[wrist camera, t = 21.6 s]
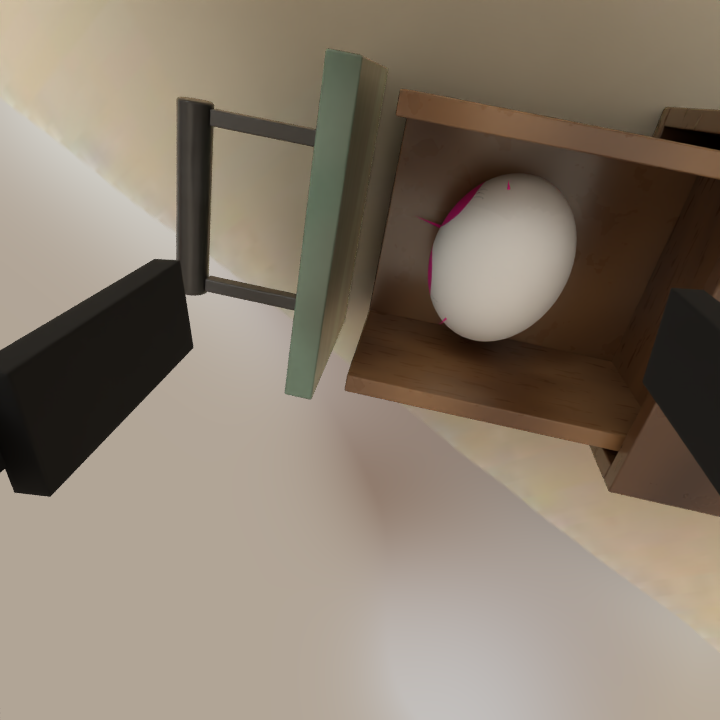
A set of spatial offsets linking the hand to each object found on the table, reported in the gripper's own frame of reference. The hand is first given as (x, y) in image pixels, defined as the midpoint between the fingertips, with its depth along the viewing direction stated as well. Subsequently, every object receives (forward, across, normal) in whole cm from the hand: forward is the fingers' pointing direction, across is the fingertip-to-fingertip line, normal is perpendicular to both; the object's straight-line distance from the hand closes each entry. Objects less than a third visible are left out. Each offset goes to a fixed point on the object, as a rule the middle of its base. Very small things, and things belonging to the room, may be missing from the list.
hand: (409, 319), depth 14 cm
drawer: (+14, +1, -1) cm, 14 cm away
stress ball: (+13, +3, -1) cm, 13 cm away
